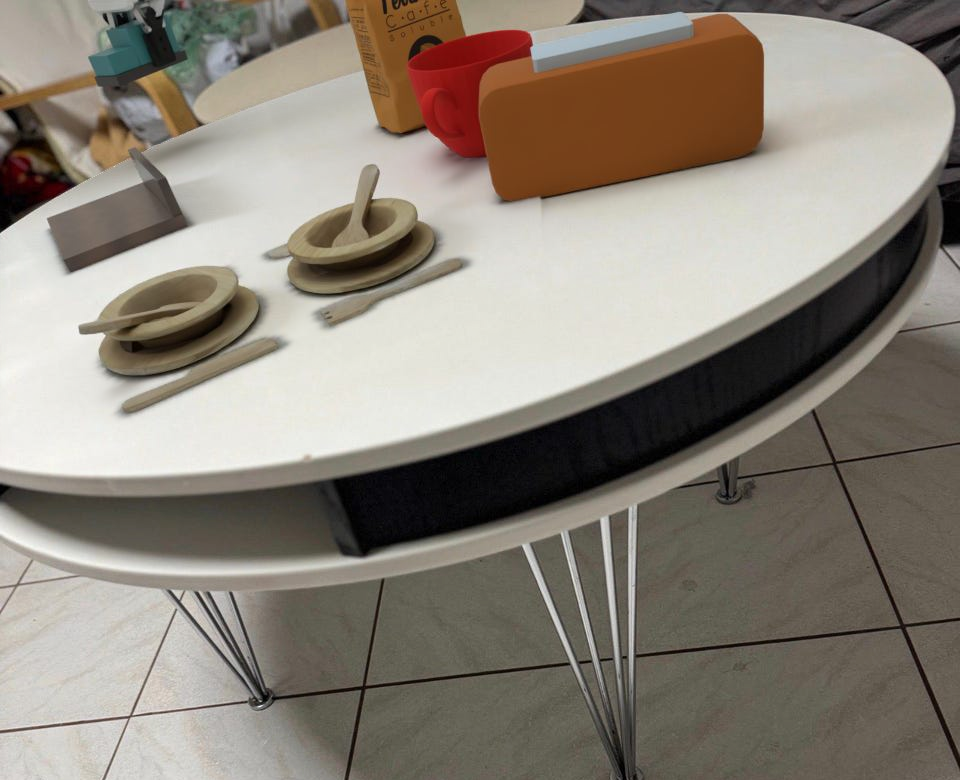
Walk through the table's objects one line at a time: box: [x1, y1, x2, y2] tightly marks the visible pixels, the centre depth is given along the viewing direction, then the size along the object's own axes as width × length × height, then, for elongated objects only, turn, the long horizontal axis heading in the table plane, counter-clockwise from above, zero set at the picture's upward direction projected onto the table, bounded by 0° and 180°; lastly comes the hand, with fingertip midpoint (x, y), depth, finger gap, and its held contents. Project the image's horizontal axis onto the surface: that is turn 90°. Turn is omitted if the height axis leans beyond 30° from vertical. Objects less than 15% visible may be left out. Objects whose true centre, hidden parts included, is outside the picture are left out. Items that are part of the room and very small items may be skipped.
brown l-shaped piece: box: [46, 147, 189, 273], centre depth 92 cm, size 13×18×6 cm
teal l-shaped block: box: [87, 14, 189, 88], centre depth 107 cm, size 11×5×6 cm, turn 143°
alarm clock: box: [479, 11, 765, 202], centre depth 73 cm, size 24×8×11 cm, turn 89°
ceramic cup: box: [407, 29, 534, 159], centre depth 84 cm, size 13×17×10 cm
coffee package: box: [345, 0, 467, 134], centre depth 95 cm, size 10×12×22 cm
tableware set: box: [77, 163, 463, 414], centre depth 68 cm, size 30×20×6 cm, turn 118°
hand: (152, 62), depth 109 cm, fingers closed on teal l-shaped block, 5 cm apart
